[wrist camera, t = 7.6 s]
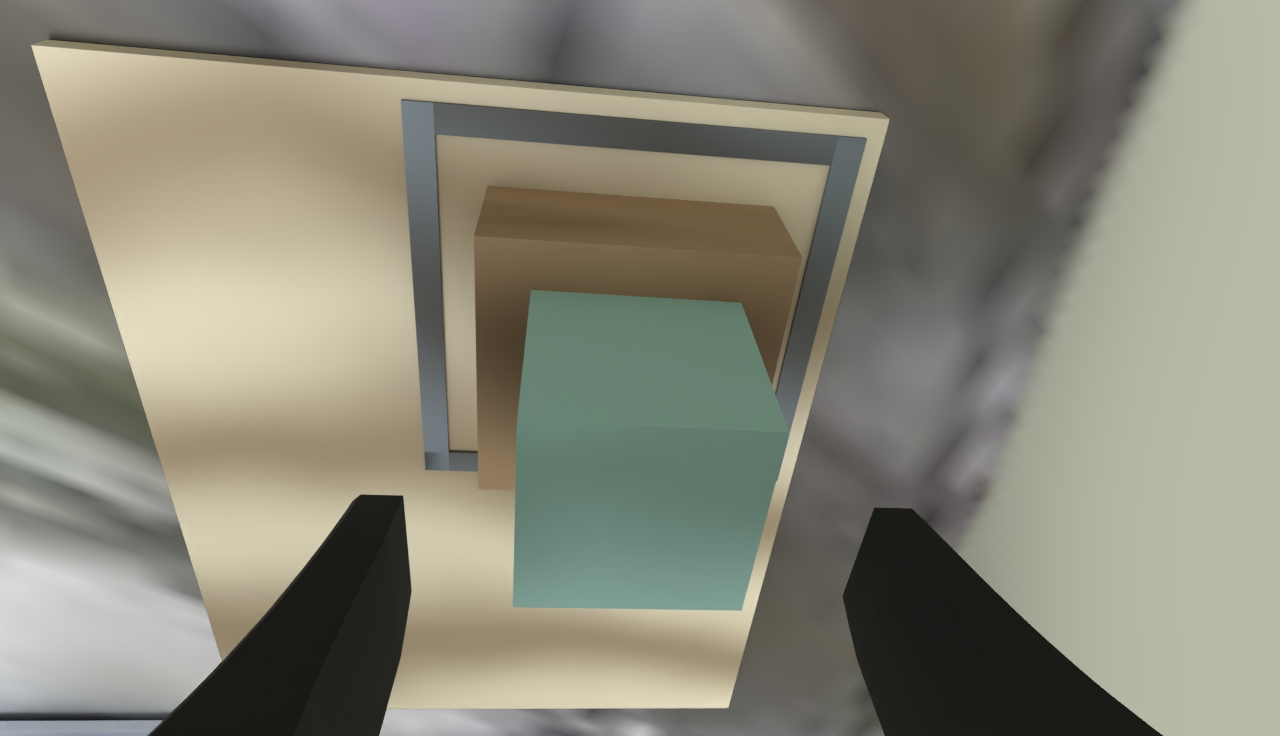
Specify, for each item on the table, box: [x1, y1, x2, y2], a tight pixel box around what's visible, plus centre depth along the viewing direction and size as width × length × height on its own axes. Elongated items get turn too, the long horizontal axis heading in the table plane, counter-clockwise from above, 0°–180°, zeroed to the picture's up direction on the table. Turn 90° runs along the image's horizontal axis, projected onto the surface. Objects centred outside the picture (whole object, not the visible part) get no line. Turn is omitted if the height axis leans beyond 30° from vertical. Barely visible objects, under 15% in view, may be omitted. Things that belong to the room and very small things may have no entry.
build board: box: [31, 40, 890, 709], centre depth 20 cm, size 20×16×1 cm
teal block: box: [513, 290, 789, 611], centre depth 14 cm, size 4×4×4 cm
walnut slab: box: [474, 186, 802, 490], centre depth 17 cm, size 6×6×2 cm
